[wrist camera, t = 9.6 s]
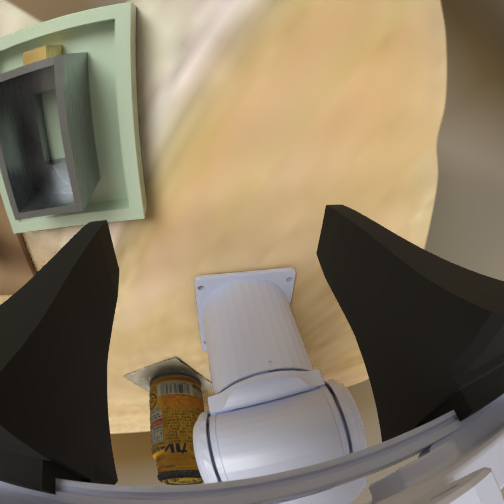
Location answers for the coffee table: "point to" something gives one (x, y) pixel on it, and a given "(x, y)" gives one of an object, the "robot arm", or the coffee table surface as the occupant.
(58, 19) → the tray
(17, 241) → the tan rectangular block
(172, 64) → the coffee table surface
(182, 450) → the condiment
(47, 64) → the grey open box
